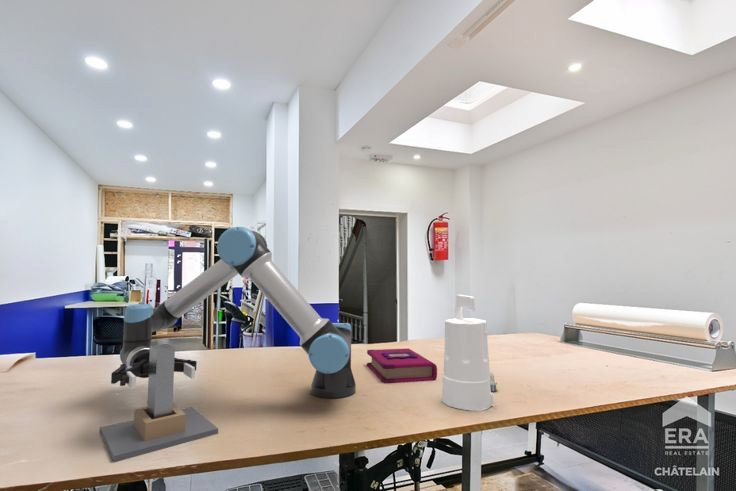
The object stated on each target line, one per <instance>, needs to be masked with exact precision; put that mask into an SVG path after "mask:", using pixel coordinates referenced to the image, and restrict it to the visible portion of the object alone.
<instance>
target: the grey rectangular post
mask: <svg viewBox="0 0 736 491" xmlns="http://www.w3.org/2000/svg"><path fill="white" fill-rule="evenodd" d="M175 350H176V348H175V347H174V346H171V345H170V344H169V343H163V344H155V345H151V346H150V357H149V377H148V383H147V402H146V403H147V404H146V406H147V415H148V416H149V417H150V418H151V419H156V418H161V417H165V416H170V415H172V406H173V403H174V402H173V400H174V378H175V377H174V376H175V375H174V374H175V372H174V358H176V357H175V354H176V353H175V352H176V351H175Z"/></svg>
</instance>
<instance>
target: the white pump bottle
mask: <svg viewBox="0 0 736 491" xmlns="http://www.w3.org/2000/svg"><path fill="white" fill-rule="evenodd" d="M475 305H476V304H475V297H474V296H471V295H465V294H460V293H459V294H456V300H455V310H454V318H449V319H445V320H444V354H443V355H444V357H443V358H444V359H443V374H442V386H441V387H442V388H441V391H442V392H441V393H442V394H441V402H442V403H443V404H445V405H446V406H449V407H450V408H451V407H452V408H455V409H458V410H465V411H473V412H475V411H479V412H480V411H486V410H487V409H489V408H490V407H496V406H495V405H494V396H493V392H492V391H491V387H490V372H491V370H490V369H491V368H490V357H489V344H488V343H489V342H488V329H487V328H488V326H487V321H486V320H485V319H479V318H476V317H475V318H474V317H466V318H465V317H464V313H463V310H464V309H463V308H465V309H467V310H468V311H469V312H475V311H476V307H475Z"/></svg>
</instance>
